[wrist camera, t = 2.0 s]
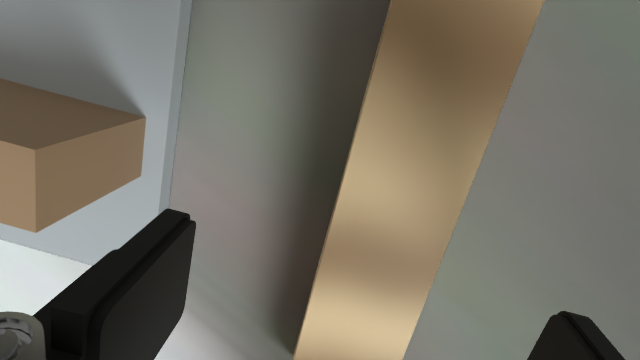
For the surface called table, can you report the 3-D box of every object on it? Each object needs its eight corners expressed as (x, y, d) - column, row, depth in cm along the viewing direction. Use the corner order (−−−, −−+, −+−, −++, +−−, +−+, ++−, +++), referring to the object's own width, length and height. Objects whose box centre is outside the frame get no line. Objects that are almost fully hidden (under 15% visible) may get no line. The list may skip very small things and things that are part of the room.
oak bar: (402, -45, 15) (417, -88, 10) (504, -20, 15) (565, -53, 10) (293, 352, 22) (272, 435, 17) (363, 372, 22) (361, 462, 17)
